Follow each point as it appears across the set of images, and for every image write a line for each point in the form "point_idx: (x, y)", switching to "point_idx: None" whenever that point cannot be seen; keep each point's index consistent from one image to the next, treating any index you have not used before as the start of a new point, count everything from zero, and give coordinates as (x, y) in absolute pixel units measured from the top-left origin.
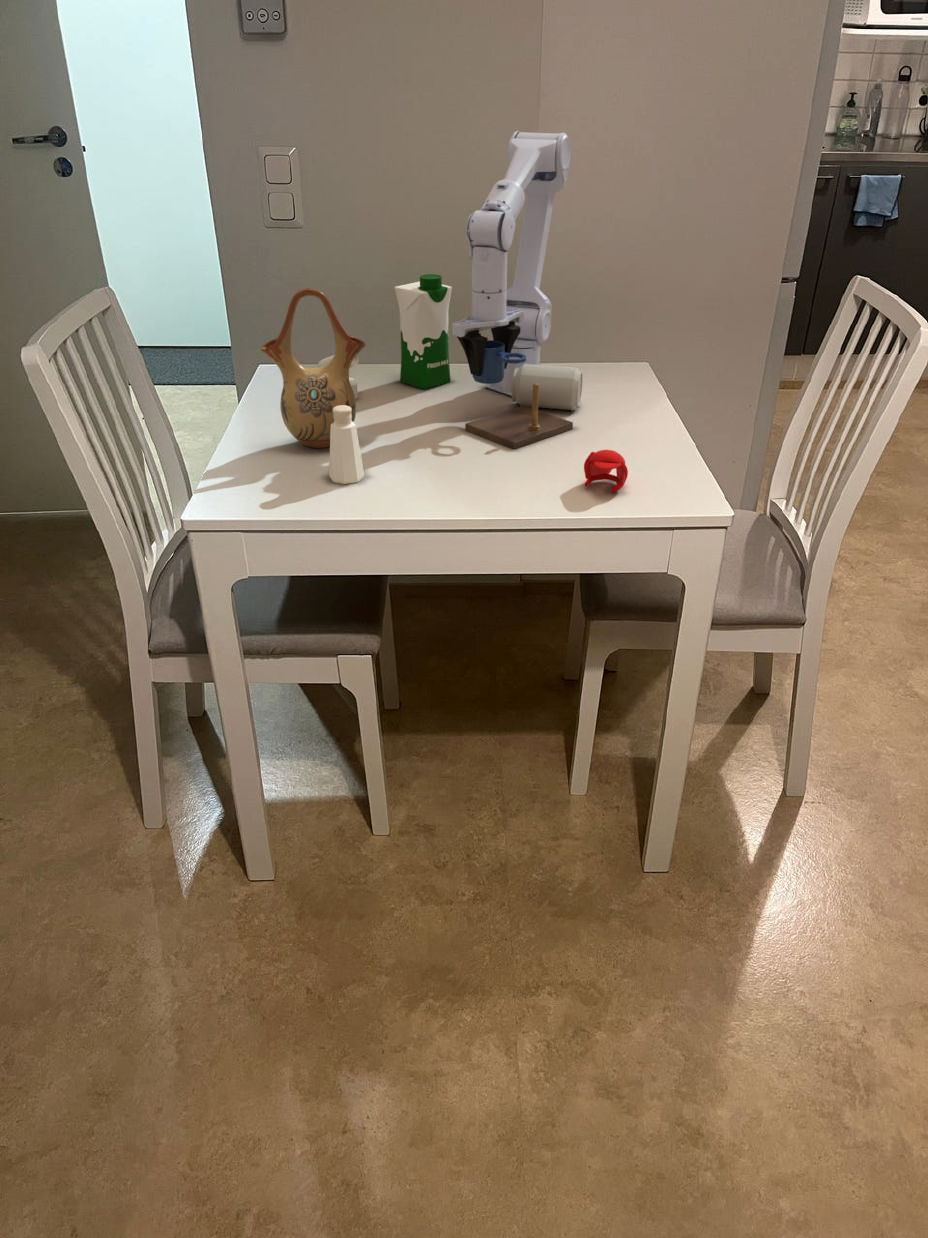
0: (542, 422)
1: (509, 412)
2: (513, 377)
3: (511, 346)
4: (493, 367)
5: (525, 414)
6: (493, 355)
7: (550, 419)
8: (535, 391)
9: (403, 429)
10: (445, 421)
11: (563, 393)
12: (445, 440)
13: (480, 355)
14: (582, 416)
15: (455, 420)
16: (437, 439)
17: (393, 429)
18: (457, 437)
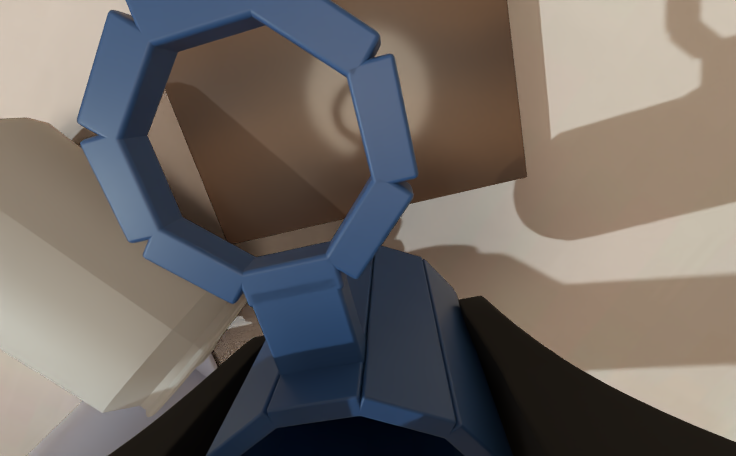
0: None
1: (311, 201)
2: (208, 344)
3: (137, 443)
4: (391, 290)
5: (264, 151)
6: (394, 350)
7: None
8: None
9: (691, 279)
10: (523, 278)
11: (43, 146)
12: (648, 110)
13: (548, 375)
14: (48, 88)
15: (489, 271)
16: (665, 135)
17: (718, 295)
18: (589, 117)
